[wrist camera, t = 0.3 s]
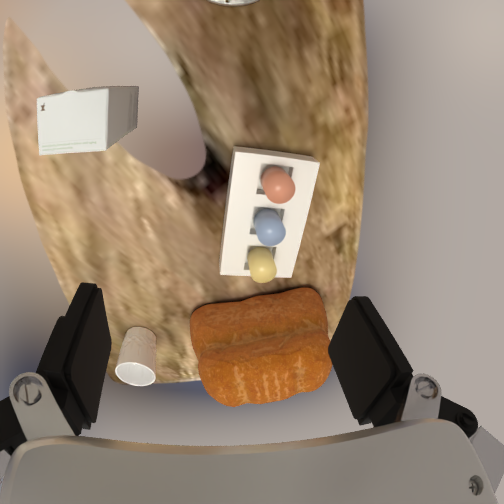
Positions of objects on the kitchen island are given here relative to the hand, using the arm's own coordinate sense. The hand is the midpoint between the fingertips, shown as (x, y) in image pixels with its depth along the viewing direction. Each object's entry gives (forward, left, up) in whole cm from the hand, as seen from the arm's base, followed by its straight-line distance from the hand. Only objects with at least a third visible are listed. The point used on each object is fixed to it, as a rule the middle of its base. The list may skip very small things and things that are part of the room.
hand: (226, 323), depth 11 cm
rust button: (+5, +9, -33) cm, 34 cm away
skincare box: (-4, -15, -36) cm, 39 cm away
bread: (+35, +12, -36) cm, 52 cm away
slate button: (+11, +9, -33) cm, 36 cm away
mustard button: (+18, +9, -33) cm, 38 cm away
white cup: (+41, -12, -36) cm, 56 cm away
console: (+11, +9, -36) cm, 39 cm away
